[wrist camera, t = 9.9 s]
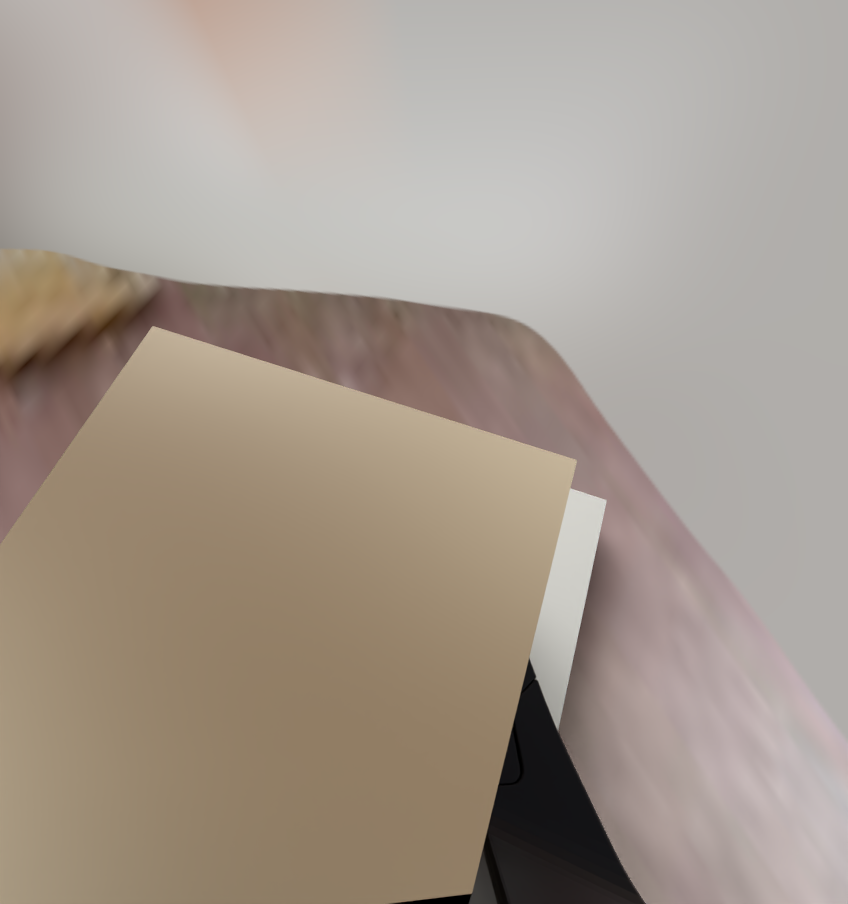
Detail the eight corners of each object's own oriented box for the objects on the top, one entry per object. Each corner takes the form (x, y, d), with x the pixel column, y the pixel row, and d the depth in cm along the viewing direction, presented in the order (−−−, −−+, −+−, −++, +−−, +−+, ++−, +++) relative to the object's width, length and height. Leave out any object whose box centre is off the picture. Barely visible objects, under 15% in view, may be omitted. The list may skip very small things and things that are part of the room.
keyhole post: (446, 669, 15) (549, 1870, 1) (323, 617, 16) (-468, 961, 2) (486, 537, 17) (725, 388, 3) (373, 496, 18) (126, 226, 4)
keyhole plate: (470, 956, 13) (481, 1095, 9) (159, 790, 15) (76, 857, 11) (574, 512, 17) (606, 500, 14) (328, 429, 19) (305, 401, 16)
